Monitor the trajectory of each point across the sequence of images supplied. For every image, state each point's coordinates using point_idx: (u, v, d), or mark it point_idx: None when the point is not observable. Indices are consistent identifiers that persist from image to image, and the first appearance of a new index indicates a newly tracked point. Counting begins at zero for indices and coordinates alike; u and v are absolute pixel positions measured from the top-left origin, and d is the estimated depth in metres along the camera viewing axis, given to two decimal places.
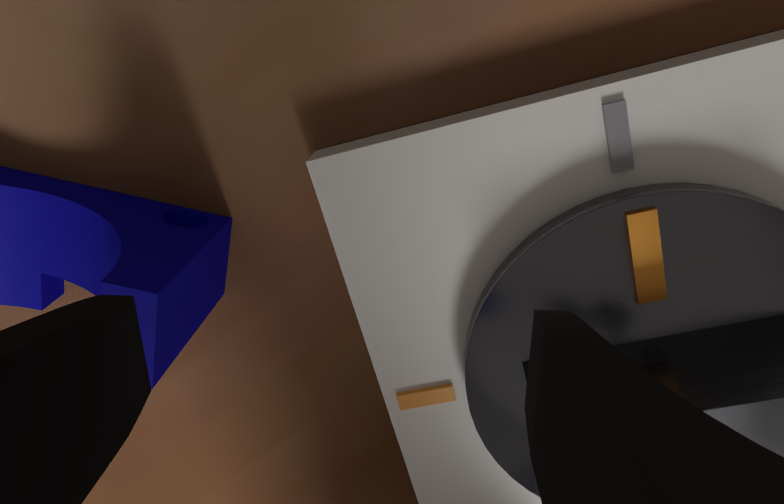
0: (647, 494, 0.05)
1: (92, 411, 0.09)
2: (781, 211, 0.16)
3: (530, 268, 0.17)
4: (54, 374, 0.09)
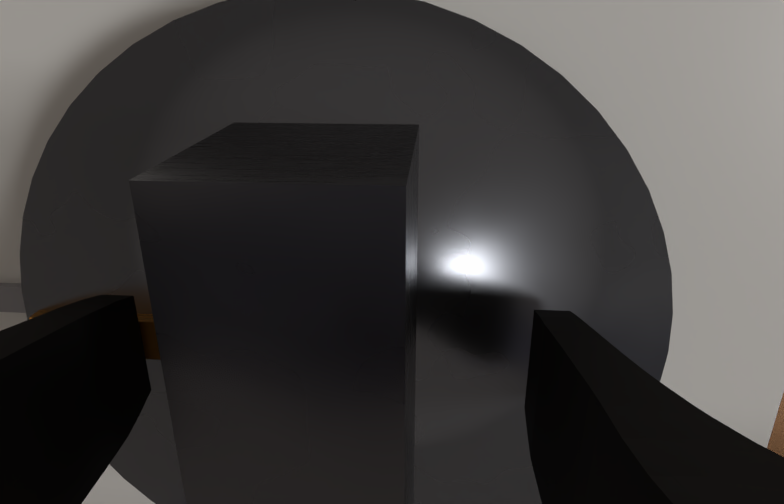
0: (646, 494, 0.05)
1: (92, 411, 0.09)
2: (49, 141, 0.10)
3: (126, 461, 0.13)
4: (54, 374, 0.09)
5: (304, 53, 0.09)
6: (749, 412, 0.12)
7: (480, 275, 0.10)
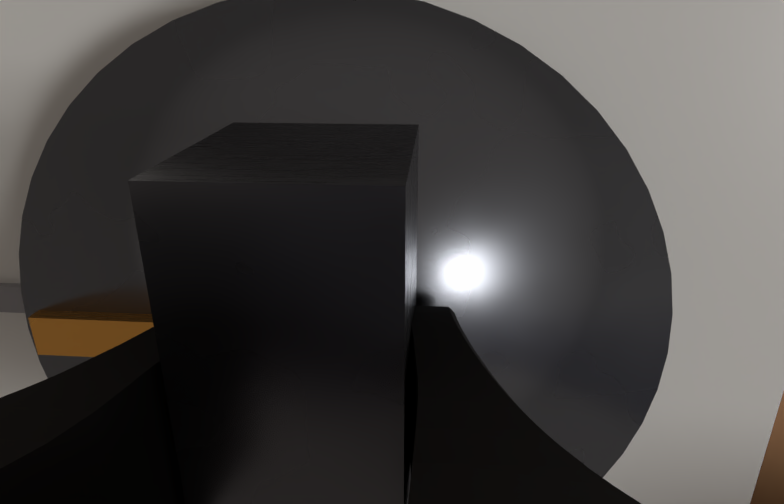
0: None
1: None
2: (49, 141, 0.10)
3: None
4: None
5: (304, 53, 0.09)
6: (749, 412, 0.12)
7: (480, 275, 0.10)
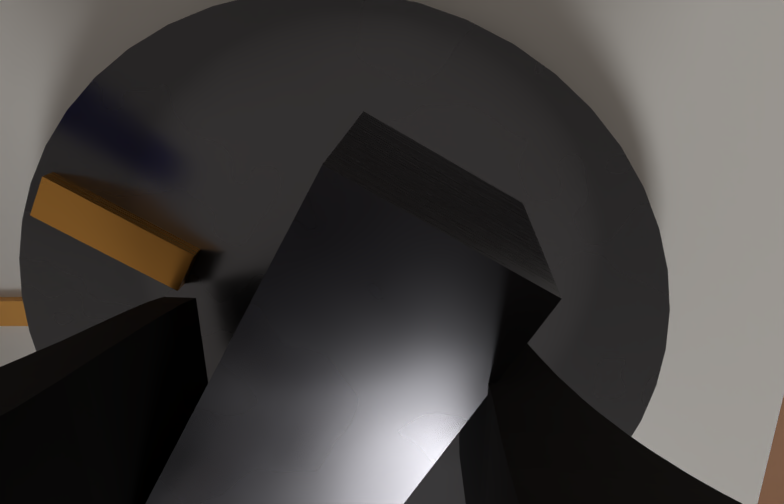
0: (507, 486, 0.05)
1: (161, 414, 0.09)
2: (169, 26, 0.09)
3: None
4: (130, 377, 0.08)
5: (464, 90, 0.09)
6: None
7: None
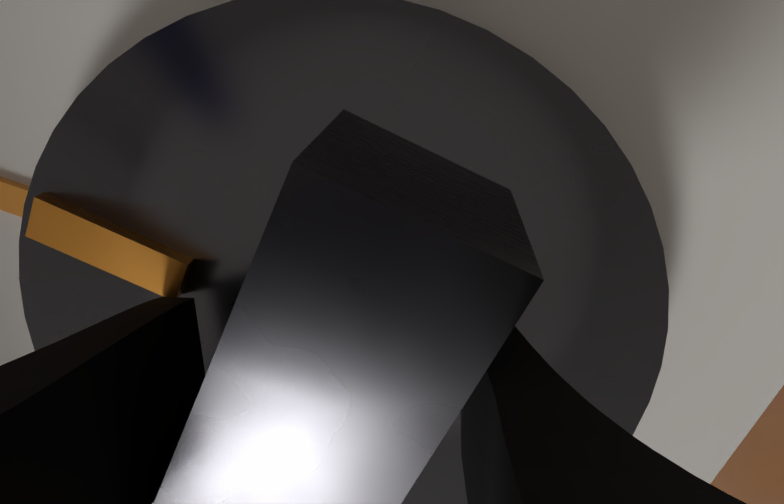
0: (512, 487, 0.05)
1: (159, 414, 0.09)
2: (146, 39, 0.09)
3: None
4: (128, 377, 0.08)
5: (442, 80, 0.09)
6: None
7: None
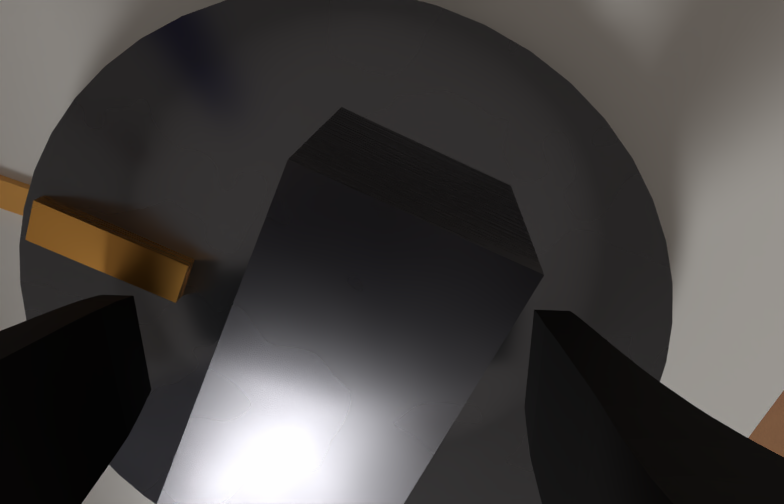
0: (646, 494, 0.05)
1: (92, 411, 0.09)
2: (142, 40, 0.09)
3: None
4: (54, 374, 0.09)
5: (440, 76, 0.09)
6: None
7: None
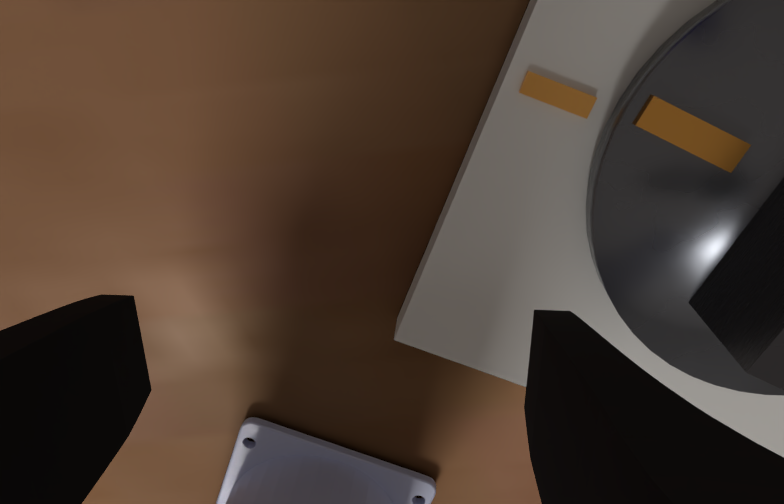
0: (647, 494, 0.05)
1: (92, 411, 0.09)
2: None
3: (609, 232, 0.16)
4: (54, 374, 0.09)
5: None
6: None
7: None
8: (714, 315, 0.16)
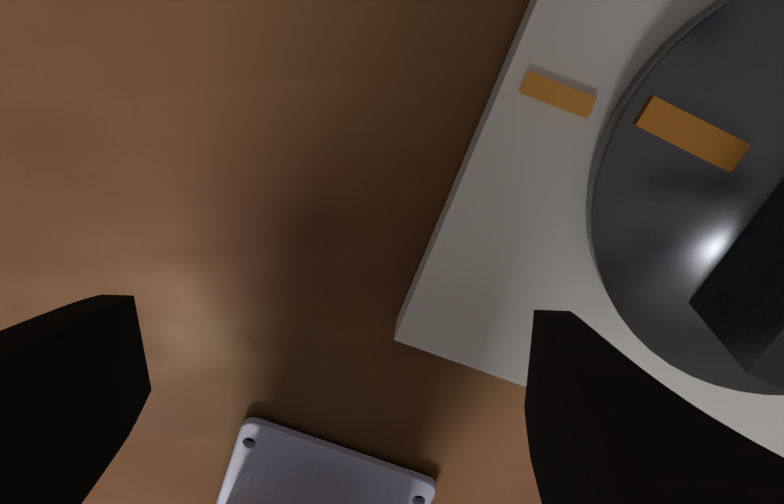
0: (647, 494, 0.05)
1: (92, 411, 0.09)
2: None
3: (609, 232, 0.16)
4: (54, 374, 0.09)
5: None
6: None
7: None
8: (714, 315, 0.16)
